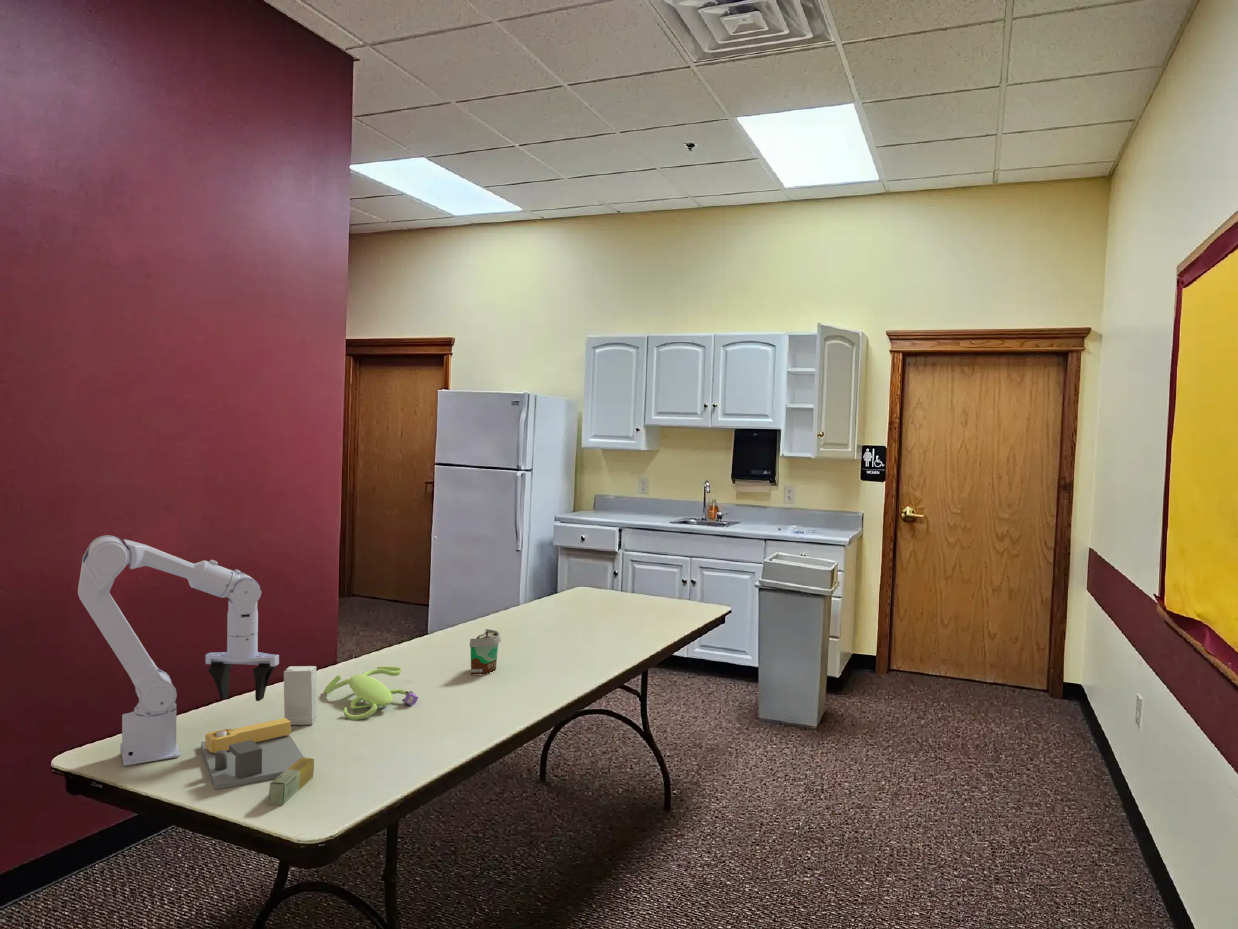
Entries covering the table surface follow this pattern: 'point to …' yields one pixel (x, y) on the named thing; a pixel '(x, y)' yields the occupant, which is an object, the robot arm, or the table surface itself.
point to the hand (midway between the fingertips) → (242, 699)
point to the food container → (484, 652)
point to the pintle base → (250, 761)
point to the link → (248, 734)
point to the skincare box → (300, 695)
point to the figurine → (371, 691)
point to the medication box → (291, 781)
